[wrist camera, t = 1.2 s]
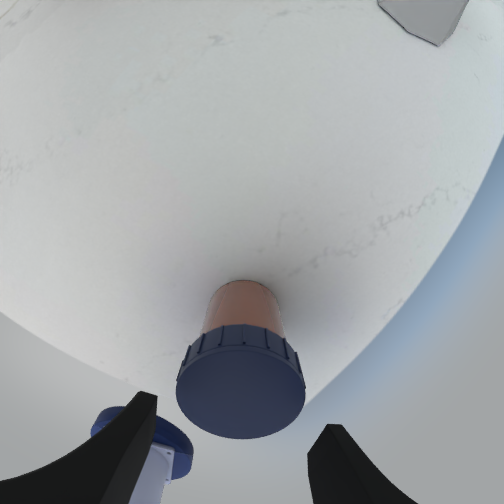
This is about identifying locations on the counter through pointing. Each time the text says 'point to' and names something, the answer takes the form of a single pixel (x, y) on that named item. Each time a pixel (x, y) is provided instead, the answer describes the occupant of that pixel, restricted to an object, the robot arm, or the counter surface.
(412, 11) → the flask
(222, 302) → the jar
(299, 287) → the counter surface
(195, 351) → the lid
